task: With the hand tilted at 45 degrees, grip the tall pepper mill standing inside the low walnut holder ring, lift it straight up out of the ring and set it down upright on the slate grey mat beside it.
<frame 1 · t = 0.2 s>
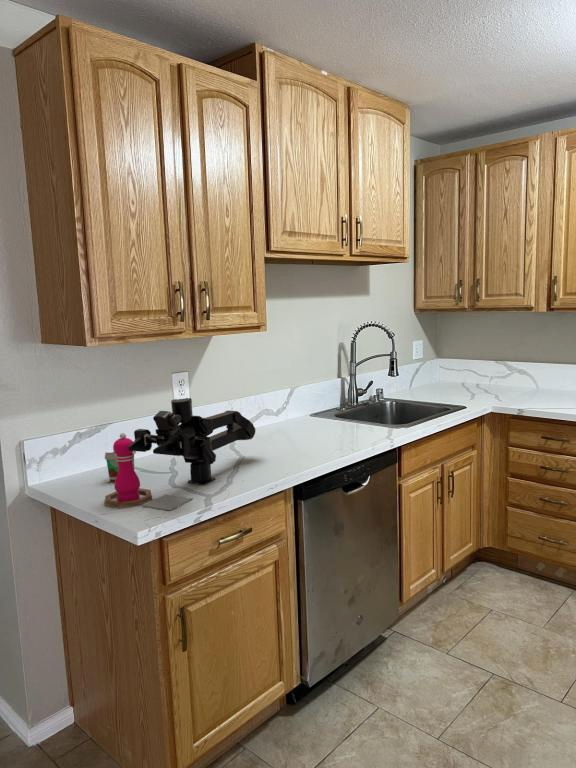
hand: (141, 450, 164), 17 cm above the worktop, tool horizontal, fingers open, 9 cm apart
pepper mill: (128, 500, 174), resting in walnut holder ring, touching gripper
walnut holder ring: (128, 499, 174), on the worktop
slate mat: (167, 503, 170), on the worktop
food container: (126, 478, 196), on the worktop
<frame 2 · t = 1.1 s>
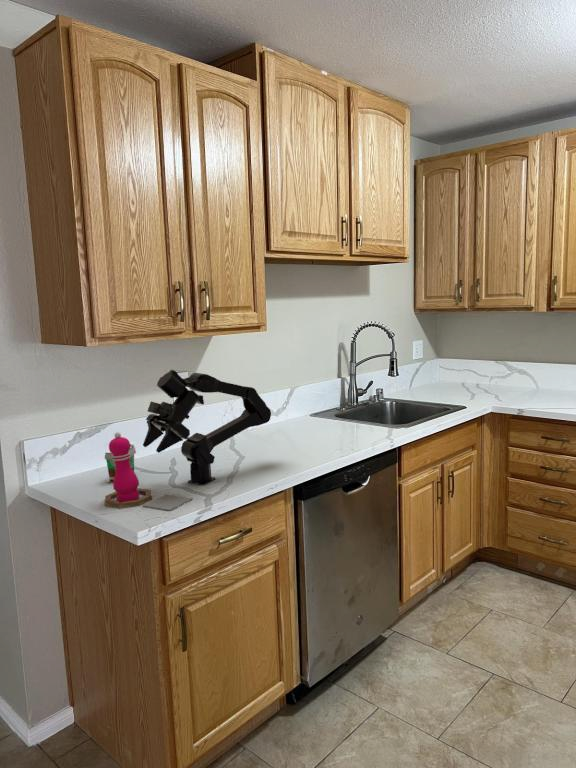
hand: (150, 449, 177), 14 cm above the worktop, tool tilted 45°, fingers open, 9 cm apart
pepper mill: (128, 499, 174), resting in walnut holder ring
everything else where it was.
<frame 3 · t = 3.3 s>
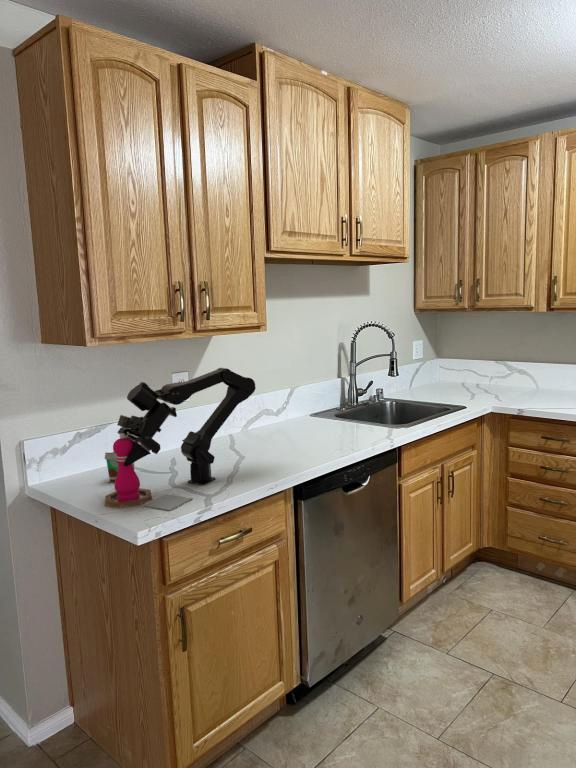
hand: (120, 464, 172), 11 cm above the worktop, tool tilted 45°, fingers closed on pepper mill, 5 cm apart
pepper mill: (128, 500, 174), resting in walnut holder ring, touching gripper
everything else where it was.
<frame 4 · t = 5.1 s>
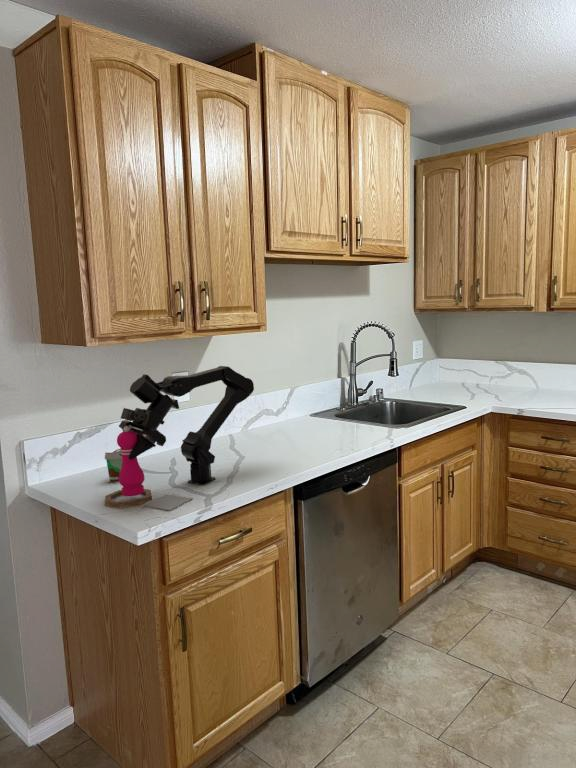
hand: (125, 457, 170), 13 cm above the worktop, tool tilted 45°, fingers closed on pepper mill, 5 cm apart
pepper mill: (133, 493, 173), point 2 cm above the worktop, touching gripper
everything else where it was.
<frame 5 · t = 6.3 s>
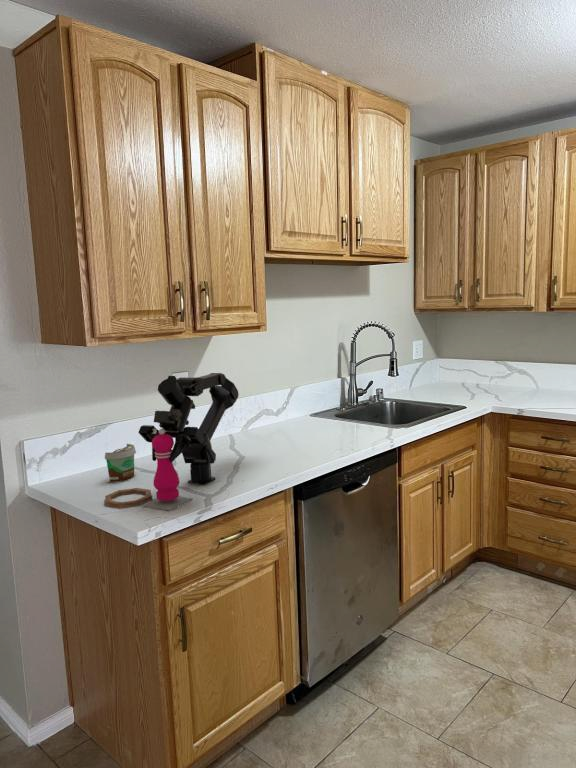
hand: (161, 460, 167), 13 cm above the worktop, tool tilted 45°, fingers closed on pepper mill, 5 cm apart
pepper mill: (167, 497, 170), point 1 cm above the worktop, touching gripper
everything else where it was.
when the fingers open (12 cm above the worktop, at t = 6.8 s): pepper mill stays where it is, resting on slate mat.
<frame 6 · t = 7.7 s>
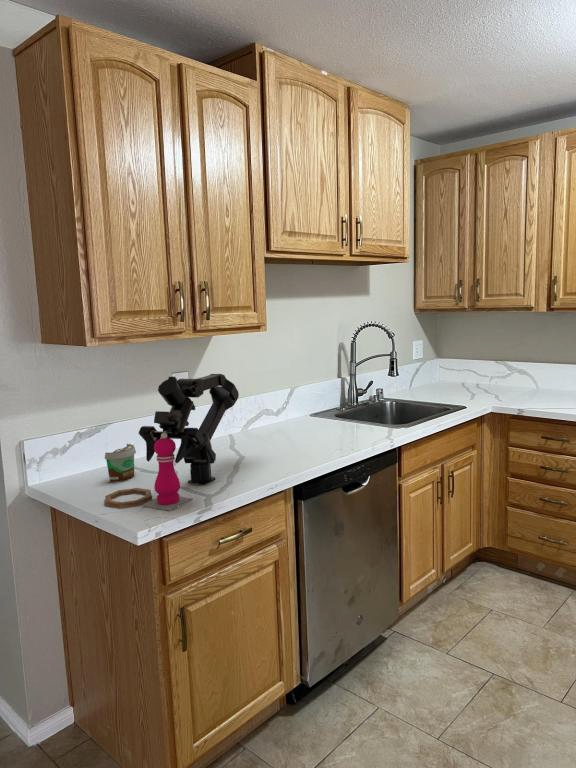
hand: (161, 461, 166), 13 cm above the worktop, tool tilted 45°, fingers open, 9 cm apart
pepper mill: (168, 501, 170), resting on slate mat
everything else where it was.
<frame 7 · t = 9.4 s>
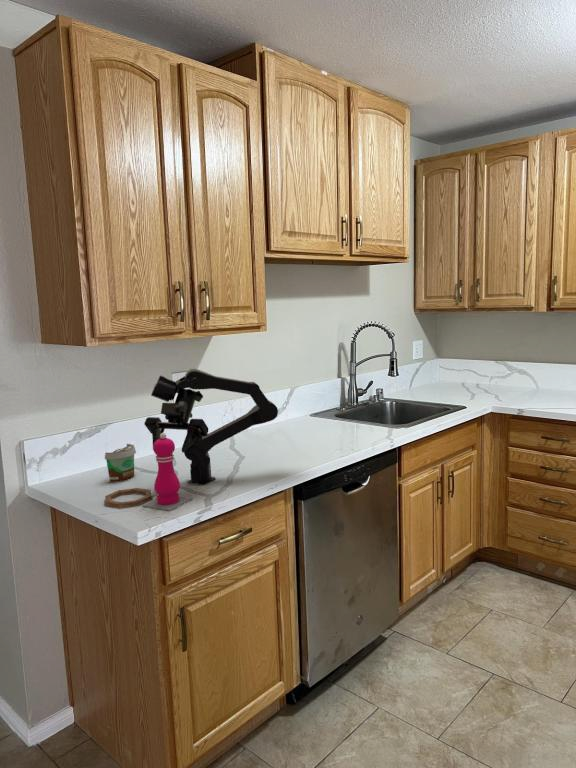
hand: (168, 451, 173), 14 cm above the worktop, tool tilted 45°, fingers open, 9 cm apart
nothing on the worktop moved.
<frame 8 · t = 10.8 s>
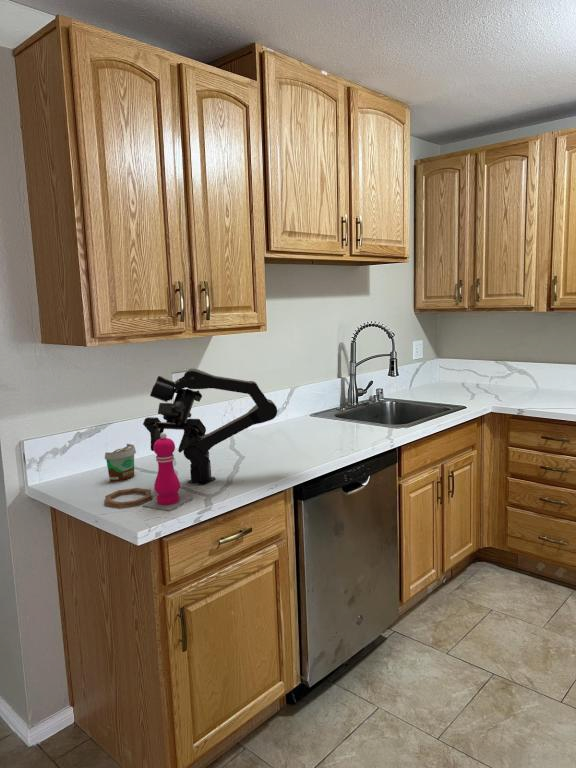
hand: (165, 451, 174), 14 cm above the worktop, tool tilted 45°, fingers open, 9 cm apart
nothing on the worktop moved.
at the end: pepper mill inside the target area on the slate mat (0.2 cm from its centre), point 0.2 cm above the slate mat's base; pepper mill tilted 0°; the gripper is holding nothing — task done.
